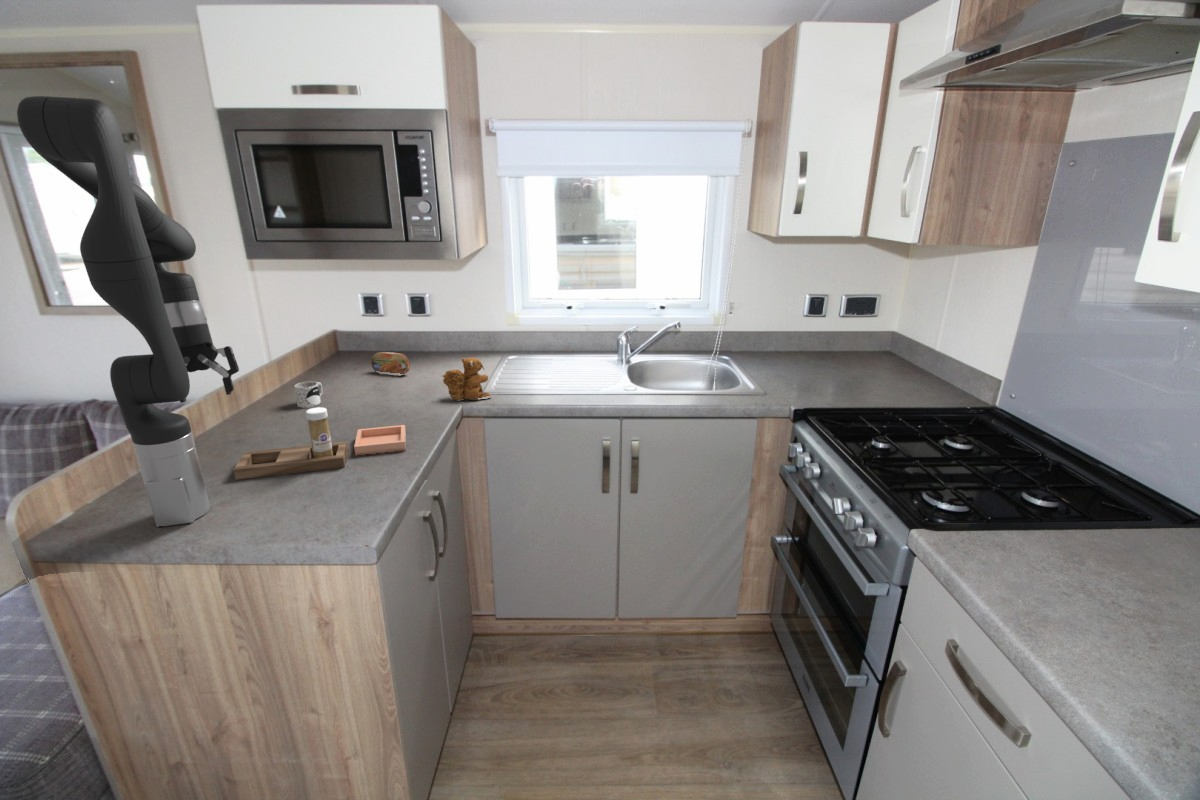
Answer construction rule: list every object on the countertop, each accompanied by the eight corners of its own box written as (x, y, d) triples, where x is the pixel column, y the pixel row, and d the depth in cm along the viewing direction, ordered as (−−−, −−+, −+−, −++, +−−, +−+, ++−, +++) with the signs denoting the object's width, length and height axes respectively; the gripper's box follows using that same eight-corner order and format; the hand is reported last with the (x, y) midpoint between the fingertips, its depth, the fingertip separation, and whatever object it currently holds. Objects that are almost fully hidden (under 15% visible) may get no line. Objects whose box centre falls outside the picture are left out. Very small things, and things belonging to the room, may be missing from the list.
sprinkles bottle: (322, 466, 137) (313, 414, 132) (310, 462, 139) (301, 410, 134) (338, 459, 140) (330, 408, 136) (326, 455, 142) (318, 405, 138)
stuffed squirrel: (493, 398, 185) (491, 359, 181) (451, 406, 178) (448, 365, 174) (482, 390, 193) (480, 352, 189) (441, 397, 186) (438, 358, 182)
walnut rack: (344, 467, 136) (343, 457, 136) (235, 479, 130) (233, 469, 129) (348, 450, 145) (347, 441, 145) (246, 461, 139) (244, 452, 138)
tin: (372, 373, 210) (369, 351, 207) (377, 371, 213) (374, 349, 210) (407, 377, 206) (404, 355, 203) (412, 375, 209) (410, 353, 206)
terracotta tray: (405, 450, 146) (404, 441, 145) (355, 456, 142) (354, 446, 142) (405, 433, 157) (404, 424, 156) (359, 437, 153) (357, 429, 152)
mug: (311, 409, 174) (308, 388, 172) (292, 407, 175) (288, 386, 173) (332, 398, 183) (329, 379, 181) (314, 397, 184) (310, 377, 182)
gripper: (139, 329, 114) (163, 407, 118) (221, 319, 120) (241, 393, 123) (150, 329, 121) (172, 402, 124) (227, 319, 127) (246, 389, 130)
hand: (206, 398), depth 124 cm, fingers open, 8 cm apart
